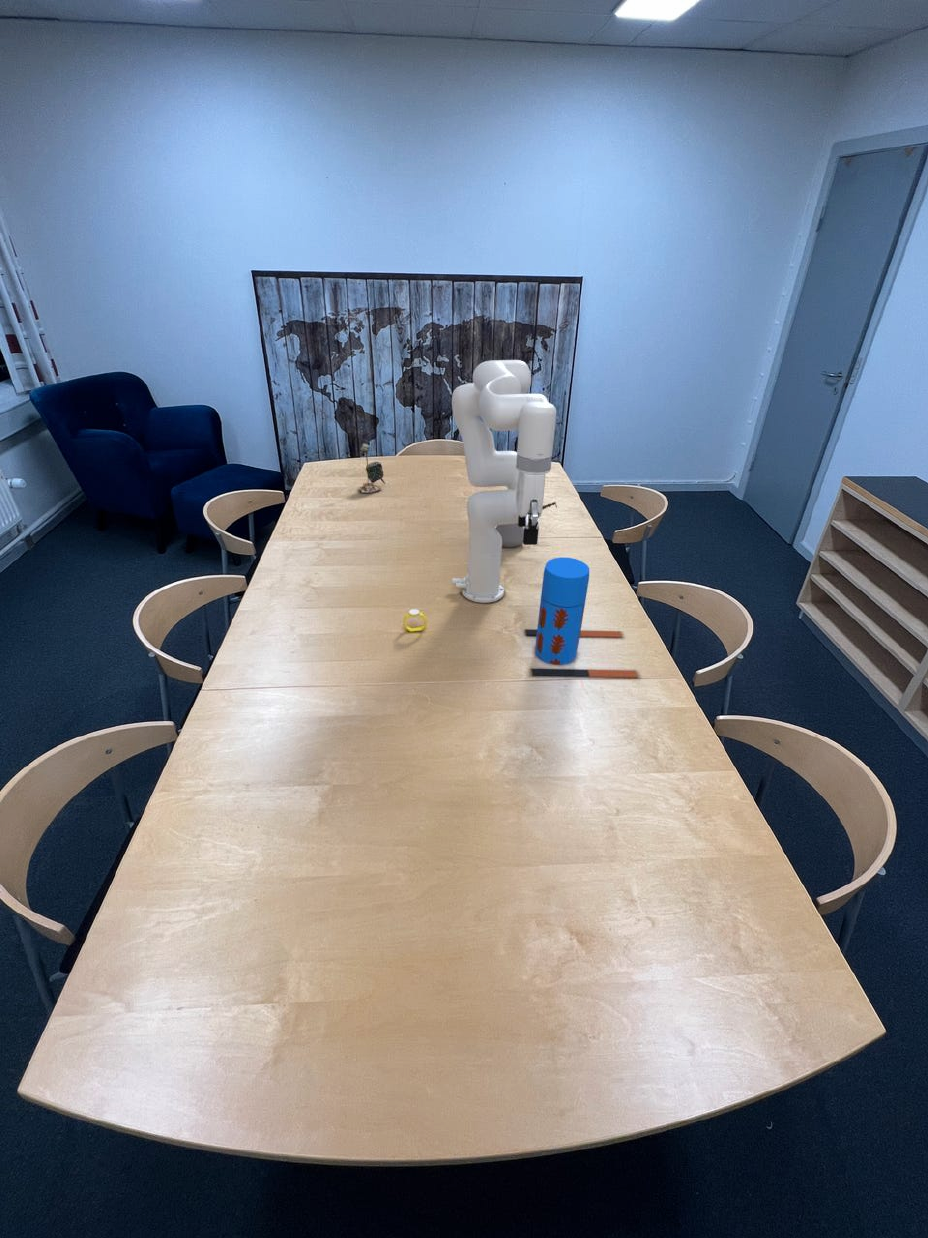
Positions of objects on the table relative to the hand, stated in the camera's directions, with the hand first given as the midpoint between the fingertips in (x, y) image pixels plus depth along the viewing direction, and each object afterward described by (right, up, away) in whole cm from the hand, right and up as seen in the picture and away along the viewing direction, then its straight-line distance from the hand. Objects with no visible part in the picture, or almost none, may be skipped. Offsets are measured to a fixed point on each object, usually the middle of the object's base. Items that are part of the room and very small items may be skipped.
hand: (527, 534), depth 142 cm
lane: (+15, -28, +17) cm, 37 cm away
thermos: (+9, -28, +17) cm, 34 cm away
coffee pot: (+6, +7, +72) cm, 73 cm away
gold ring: (-28, -23, +24) cm, 43 cm away
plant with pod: (-52, +33, +109) cm, 126 cm away
